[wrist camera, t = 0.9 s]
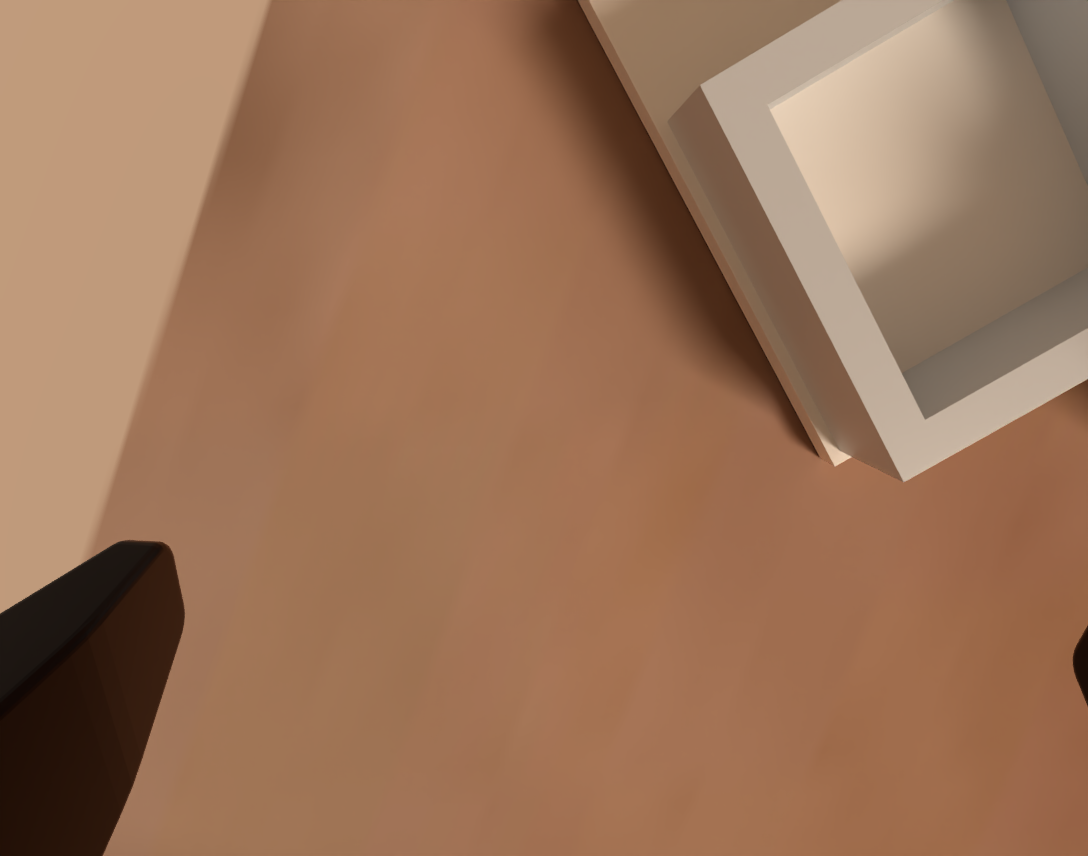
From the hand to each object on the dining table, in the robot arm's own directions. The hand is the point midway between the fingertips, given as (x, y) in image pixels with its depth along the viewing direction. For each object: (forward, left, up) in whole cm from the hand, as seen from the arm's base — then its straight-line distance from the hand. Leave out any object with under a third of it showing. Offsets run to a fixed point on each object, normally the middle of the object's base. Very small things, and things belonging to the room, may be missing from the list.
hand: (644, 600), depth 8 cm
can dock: (+3, -13, -14) cm, 19 cm away
